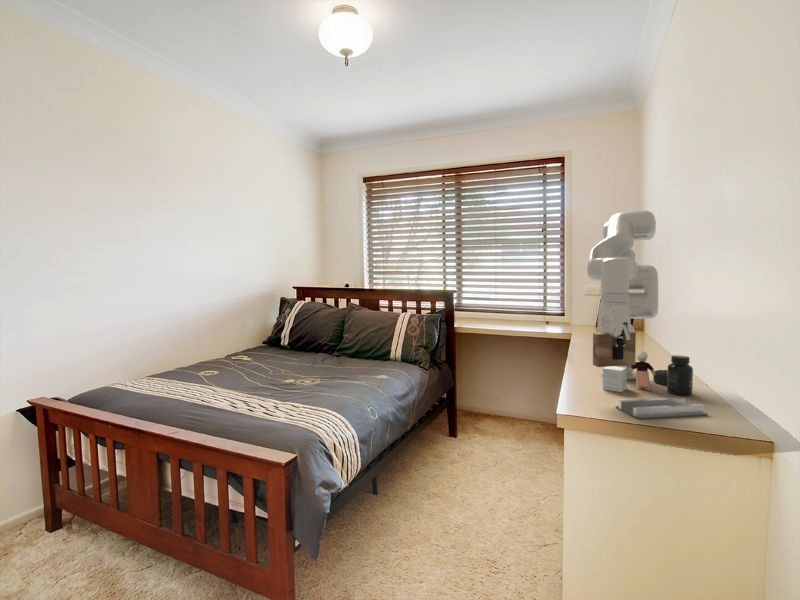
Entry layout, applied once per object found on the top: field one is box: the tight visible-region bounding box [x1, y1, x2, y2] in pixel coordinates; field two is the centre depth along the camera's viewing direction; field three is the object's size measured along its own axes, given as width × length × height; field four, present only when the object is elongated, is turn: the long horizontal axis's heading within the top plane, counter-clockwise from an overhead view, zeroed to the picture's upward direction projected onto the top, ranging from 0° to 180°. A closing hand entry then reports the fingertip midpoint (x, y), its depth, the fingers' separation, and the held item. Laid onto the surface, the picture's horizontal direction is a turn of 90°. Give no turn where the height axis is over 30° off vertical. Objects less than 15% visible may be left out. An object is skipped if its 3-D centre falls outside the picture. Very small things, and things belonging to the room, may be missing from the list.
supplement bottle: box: [666, 354, 694, 397], centre depth 132 cm, size 7×7×12 cm
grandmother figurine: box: [629, 351, 656, 391], centre depth 138 cm, size 8×4×13 cm, turn 72°
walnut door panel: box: [592, 331, 637, 368], centre depth 126 cm, size 3×12×10 cm, turn 97°
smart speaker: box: [652, 369, 667, 386], centre depth 144 cm, size 9×9×4 cm
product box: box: [602, 366, 628, 393], centre depth 138 cm, size 6×6×7 cm
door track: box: [615, 396, 708, 421], centre depth 115 cm, size 10×20×2 cm, turn 97°
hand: (613, 357), depth 126 cm, fingers closed on walnut door panel, 3 cm apart
